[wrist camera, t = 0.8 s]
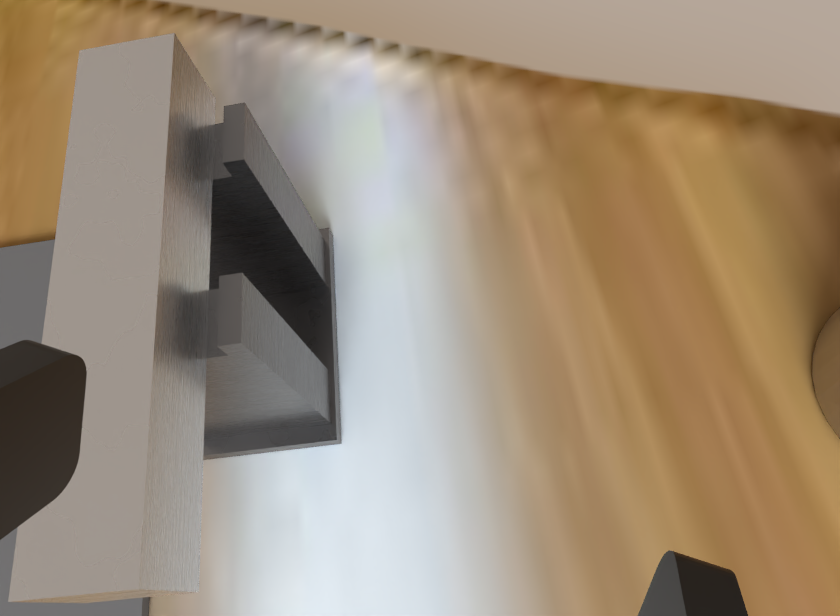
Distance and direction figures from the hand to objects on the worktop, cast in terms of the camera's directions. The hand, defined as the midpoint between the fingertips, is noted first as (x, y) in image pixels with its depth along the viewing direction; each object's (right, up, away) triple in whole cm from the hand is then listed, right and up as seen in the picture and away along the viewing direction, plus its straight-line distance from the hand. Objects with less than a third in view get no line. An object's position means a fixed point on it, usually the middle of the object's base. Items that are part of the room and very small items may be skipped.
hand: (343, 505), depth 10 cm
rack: (-7, +1, +27) cm, 27 cm away
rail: (-8, +2, +15) cm, 18 cm away
